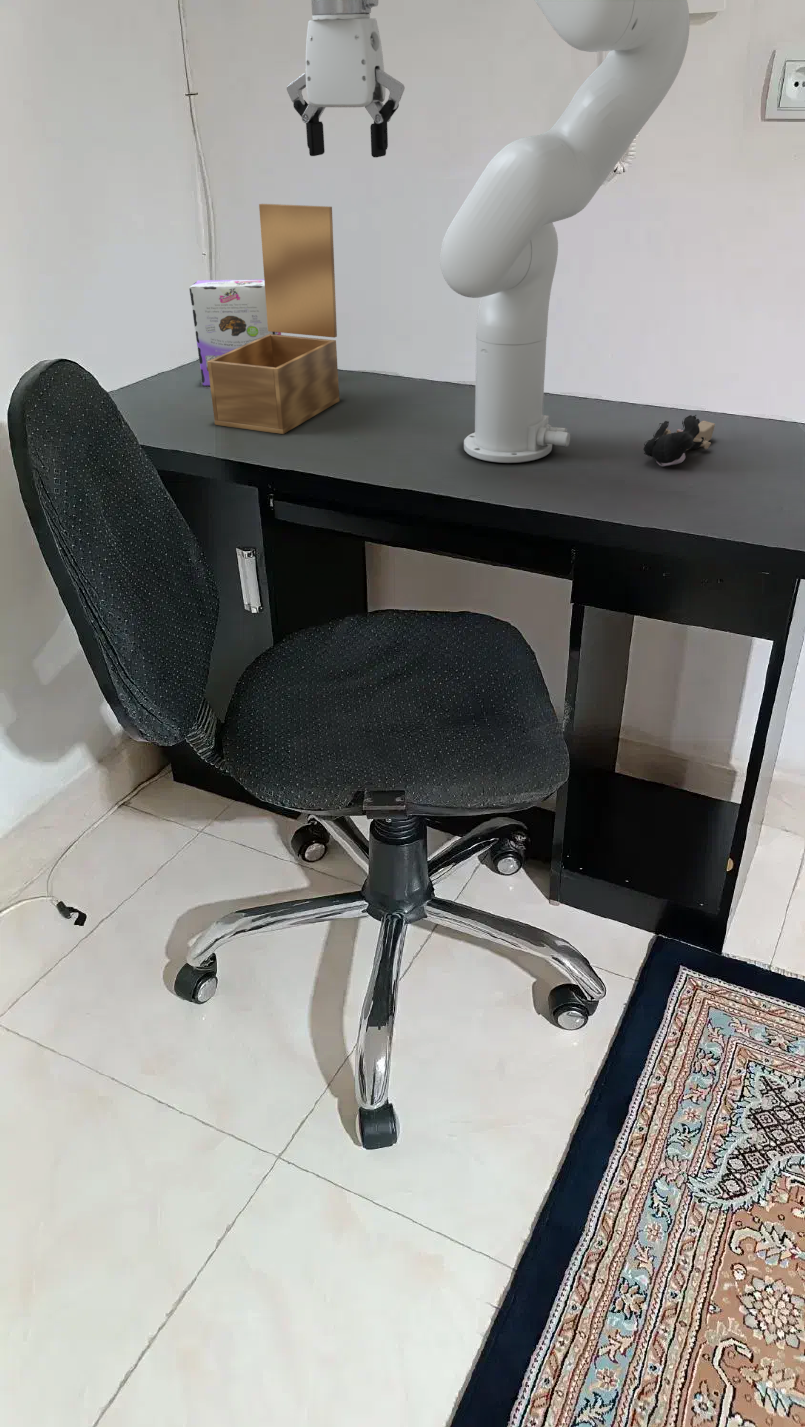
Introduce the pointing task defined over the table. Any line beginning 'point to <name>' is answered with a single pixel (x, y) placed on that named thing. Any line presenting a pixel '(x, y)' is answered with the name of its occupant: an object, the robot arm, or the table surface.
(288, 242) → the chest lid
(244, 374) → the chest
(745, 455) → the table surface
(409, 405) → the table surface
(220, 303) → the candy box
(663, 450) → the toy figure
